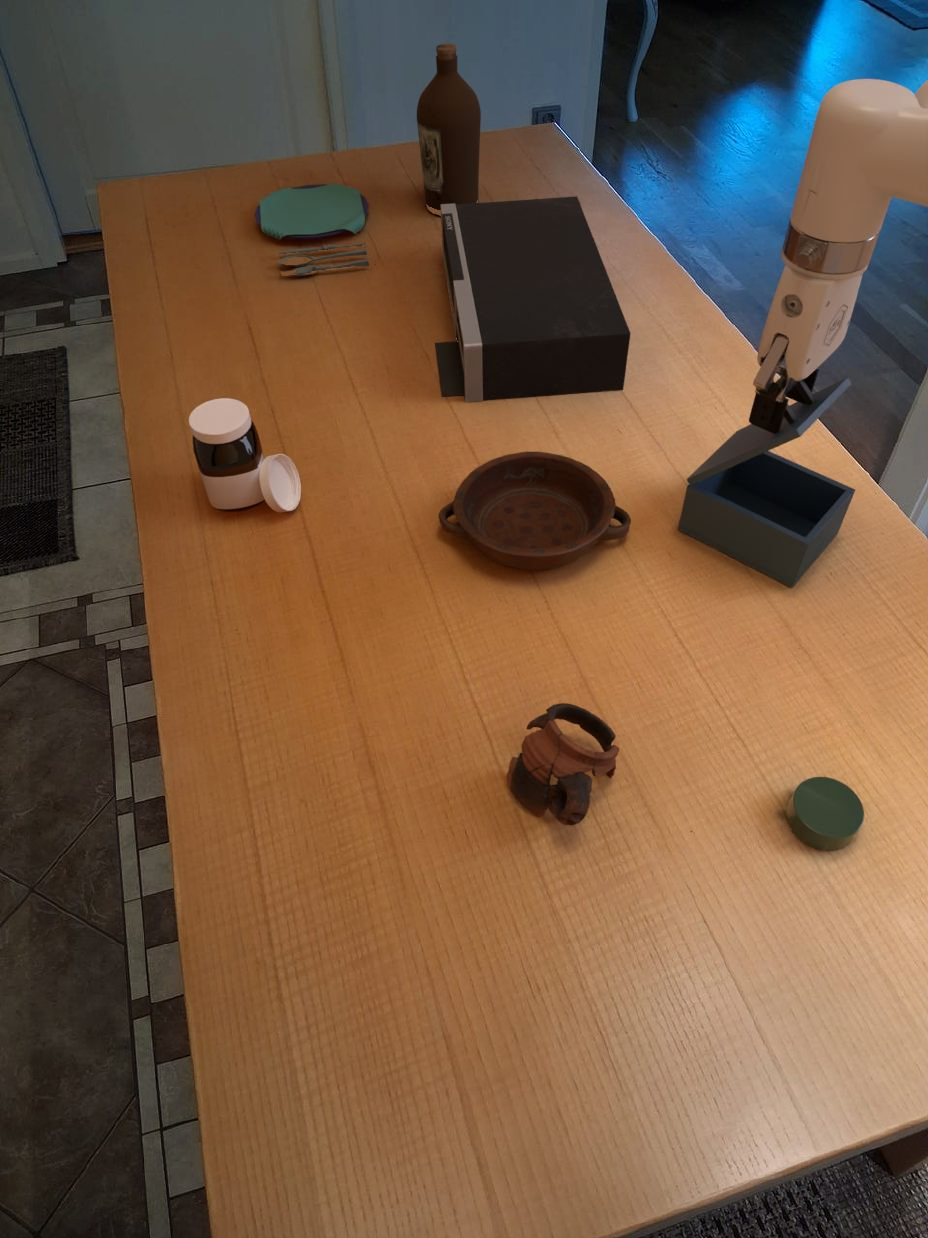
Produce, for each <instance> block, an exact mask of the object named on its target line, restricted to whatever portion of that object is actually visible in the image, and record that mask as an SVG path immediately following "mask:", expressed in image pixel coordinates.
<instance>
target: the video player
mask: <svg viewBox="0 0 928 1238" xmlns="http://www.w3.org/2000/svg"><path fill="white" fill-rule="evenodd" d="M440 223H441V224H440V225H441V245H442V249H441V250H442V258H443V257H444V260H443V259H442V261H443V266H444V264H445V266H444V273H445V280H446V285H447V283H448V285H447V291H448V290H449V291H448V297H449V296H450V297H449V298H448V299H449V305H450V311H451V318H452V322H454V323H453V329H454V328H455V329H454V334H456V335H454V337H455V341H454V340H453V341H441V342H438V341H437V342H434V347H435V358H436V365H437V372H438V380H439V381H438V382H439V387H440V396H441V398H446V397H447V398H448V397H457V396H458V397H461V396H464V400H465V403H478V402H483V401H495V400H496V401H497V400H508V399H509V400H510V399H521V398H522V399H523V398H534V397H544V396H545V397H547V396H558V395H559V396H560V395H572V394H573V395H574V394H584V393H587V394H588V393H599V392H613V391H623V390H624V385H625V379H626V373H627V372H626V371H627V363H628V362H627V361H628V356H629V348H630V347H629V346H630V340H631V331H630V329H629V325H628V323H627V320H626V319H625V315H624V313H623V310H622V307H621V305H620V302H619V300H618V298H617V295H616V292H615V290H614V287H613V285H612V283H611V282H612V281H611V280H610V276H609V274H608V272H607V270H606V267H605V264H604V262H603V258H602V257H601V254H600V252H599V249H598V246H597V244H596V241H595V239H594V236H593V234H592V231H591V229H590V226H589V223H588V221H587V218H586V215H585V213H584V211H583V208H582V205H581V202H580V200H579V198H578V196H577V195H575V196H574V195H573V196H562V197H561V196H560V197H549V198H548V197H546V198H545V197H544V198H533V199H517V200H516V199H515V200H505V201H503V200H502V201H489V202H478V203H472V204H457V205H455V204H441V216H440ZM445 270H446V272H445ZM446 277H447V279H446ZM450 302H451V304H450ZM451 308H452V310H451ZM452 315H453V316H452ZM456 338H457V340H456ZM457 341H458V342H457Z"/></svg>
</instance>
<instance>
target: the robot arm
mask: <svg viewBox="0 0 928 1238" xmlns="http://www.w3.org/2000/svg"><path fill="white" fill-rule="evenodd" d="M806 151H807V152H806V156H805V159H804V163H803V167H802V171H801V173H800V174H801V175H800V178H799V183H798V187H797V191H796V194H795V198H794V202H793V207H792V210H791V212H790V213H791V214H790V218H789V221H788V225H787V228H786V232H785V237H784V241H783V244H782V249H781V251H780V252H781V253H780V254H781V255H780V257H781V260H782V261H783V263H784V264H785V265H784V268H783V269H782V273H781V275H780V278H779V282H778V284H777V286H776V290H775V293H774V296H773V299H772V302H771V304H770V308H769V311H768V313H767V316H766V319H765V320H766V321H765V324H764V327H763V331H762V333H761V338H760V342H759V346H758V351H757V357H756V358H757V359H756V361H757V364H758V366H759V367H760V368H759V370H758V372H757V373H756V376H755V377H754V379H753V382H752V385H753V386H754V387H755V391H754V393H755V395H754V398H753V403H752V405H751V410H750V414H749V418H748V422H749V424H753V425H755V426H757V427H760V428H762V429H764V430H766V431H769V432H771V433H774V434H775V433H777V432H778V431H779V430H780V427H781V424H782V420H783V417H784V414H785V410H786V407H787V404H788V405H789V400H793V401H795V402H800V403H802V404H806V402H805V400H804V399H803V397H802V396H801V394H800V392H799V391H798V389H797V388H796V386H794V387H793V388H792V389H791V390H790V391H789V392H788V390H789V388H790V386H791V383H792V381H793V379H794V380H795V381H800V380H804V382H805V383H806V385H807V387H808V388H809V390H810V391H811V393H812V394H813V390H814V387H815V384H816V381H817V378H818V374H819V371H820V369H818V368H819V367H820V366H821V365H822V364H823V363H824V362H825V361H826V360H827V359H828V358H829V357H830V356H831V355H833V354H834V352H835V351H836V350H837V349H838V348H839V347H840V346H841V345H842V343H843V341H844V340H845V337H846V335H847V331H848V329H849V325H850V322H851V319H852V315H853V312H854V308H855V304H856V302H857V297H858V293H859V290H860V286H861V284H862V283H861V282H862V278H863V274H864V272H866V271H867V269H868V267H869V264H870V261H871V259H872V256H873V253H874V250H875V247H876V244H877V242H878V238H879V235H880V233H881V230H882V227H883V224H884V220H885V218H886V216H887V215H886V214H887V212H888V209H889V206H890V203H891V200H892V198H893V199H897V200H902V201H905V202H909V203H912V204H915V205H919V206H922V207H927V208H928V79H927V80H926V81H925V82H924V83H923V84H922V85H920V87H919V88H918V89H917V91H916V92H915V93H913V91H912V90H910V89H909V88H908V87H906V86H903V85H901V84H898V83H895V82H893V81H889V80H885V79H878V78H877V79H876V78H858V79H851V80H846V81H842V82H840V83H837V84H836V85H834V86H833V87H832V88H830V89H829V90H828V91H827V92H826V93H825V95H824V96H823V98H822V100H821V102H820V103H819V107H818V110H817V113H816V115H815V121H814V124H813V128H812V132H811V136H810V139H809V143H808V148H807V150H806ZM783 362H785V365H782V363H783ZM776 374H777V375H779V376H785V378H784V380H783V382H782V385H781V387H780V386H779V385H778V383H775V382H776V381H775V380H774V378H775V376H776Z"/></svg>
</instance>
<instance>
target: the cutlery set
mask: <svg viewBox="0 0 928 1238" xmlns="http://www.w3.org/2000/svg"><path fill="white" fill-rule="evenodd" d="M369 207H370V204H369V202H368V200H367V199H366V197H365V196H364V195H363V194H361V193H360V190H357V189H356V188H353V187H351V186H350V187H349V186H347V185H343V184H339V183H330V184H326V183H325V184H306V185H300V186H294V187H290V188H288V187H287V188H285V187H284V188H279V189H278V190H275V191H274V192H271V193H269V194H268V195H266V196H264V197H263V198H261V199H260V200H259V205H258V206H257V207H256V209H255V213H254V219H255V221H256V223H257V226H259V227H260V228H261V231H262V232H263V234H264V235H266V236H268V237H271V238H274V239H276V238H278V239H277V240H279V241H281V240H282V238H286V239H293V240H318V239H322V238H327V237H332V236H333V237H334V236H336V235H339V234H341V233H345V232H347V231H350V232H352V233H353V234H354V233H356V232H357V231H358V230H360V229H361V230H363V228H364V226H365V223H366V217H367V216H368V215H369ZM361 230H360V231H361ZM358 234H359V233H357V234H356V235H355V236H357V235H358ZM362 245H365V246H366V242H365V241H364V242H362V243H353V244H339V245H337V244H332V243H330V244H328V245H325V244H324V243H323V244H322V246H320V247H319V246H317V247H304V248H294V249H286V250H282V251H279V252H278V255H279V254H287V253H296V252H307V253H312V252H311V251H316V252H319V251H318V250H324V251H325V250H327V251H330V249H335V248H337V249H340V248H339V247H345V248H351V247H350V246H357V247H363V246H362ZM328 249H329V250H328ZM335 250H336V249H335ZM367 255H368V252H367V248H362V249H356V250H350V251H343V252H337V253H333V254H327V255H322V256H319V257H314V256H312V255H308V254H292V255H289V256H288V255H287V256H285V257H282V258H280V259H278V264H279V265H282V266H285V264H282V261H283V260H286V259H288V258H293V257H307V258H309V259H311V261H309V262H307V263H303V264H298V265H286V266H285V267H289V266H301V267H295V268H294V269H295V270H296V272H295V273H292V274H305V273H311V272H312V271H317V272H318V271H327V270H326V269H331V268H342V267H351V266H362V267H369V266H370V260H369V259H368V258H367V259H362V260H353V261H349V262H344V263H339V264H332V265H329V264H328V265H316V263H314V264H312V265H311V263H313V262H317V261H316V260H318V261H323V260H331V259H336V258H344V257H356V256H357V257H358V256H367ZM330 258H331V259H330ZM312 261H313V262H312ZM308 263H309V264H308ZM306 264H307V265H306ZM302 265H305V266H302ZM292 274H291V275H292Z"/></svg>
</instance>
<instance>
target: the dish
mask: <svg viewBox="0 0 928 1238" xmlns="http://www.w3.org/2000/svg"><path fill="white" fill-rule="evenodd" d="M616 504H617V503H616V498H615V496H614V493H613V491H612V489H611V486H609V483H608V482H607V480H605V478H604V477H603V476H601V475H600V474H599V473H598V472H597V471H595V470H594V469H593V468H592V467H590V466H589V465H587V464H585V463H583V462H581V461H578V460H577V459H574V458H572V457H568V456H565V455H561V454H556V453H551V452H545V451H521V452H516V453H515V452H514V453H509V454H505V455H501V456H499V457H496V458H493V459H490V460H488V461H486V462H485V463H483V464H481V465H479V466H477V467H476V468H474V469H473V470H472V471H471V472H469V474H468V475H467V476H466V477H465V478H464V479H463V480H462V482H461V483H460V485H459V486H458V488H457V490H456V492H455V494H454V497H453V501H451V502H449V503H447V504H446V505H445V506H443V507H442V508H441V509H440V511H439V513H438V521H439V524H440V526H441V528H442V530H444V531H445V532H446V533H448V534H450V535H452V536H457V537H461V538H462V537H464V538H467V539H469V540H471V541H472V542H473V543H474V545H475V546H476V547H477V548H478V550H479V551H480V552H481V553H482V554H484V556H486V557H488V558H489V559H491V560H492V561H495V562H497V563H498V564H501V565H504V566H507V567H510V568H515V569H521V570H529V571H530V570H533V571H534V570H536V571H538V570H539V571H540V570H541V571H543V570H551V569H555V568H558V567H563V566H565V565H568V564H572V563H574V562H575V561H577V560H579V559H580V558H581V557H583V556H584V555H585V554H587V553H588V552H589V551H590V549H592V547H593V546H594V545H596V544H597V543H599V542H608V541H614V540H618V539H622V538H624V537H626V536H627V535H628V533H629V532H630V526H631V524H632V519H631V516H630V514H629V512H627V511H626V510H625V509H624V508H622V507H620V506H618V505H616ZM452 516H454V517H455V519H456V520H457V522H451V521H449V520H448V519H449V518H450V517H452ZM612 520H615V521H617V522H618V523H620V525H611V522H612Z"/></svg>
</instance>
